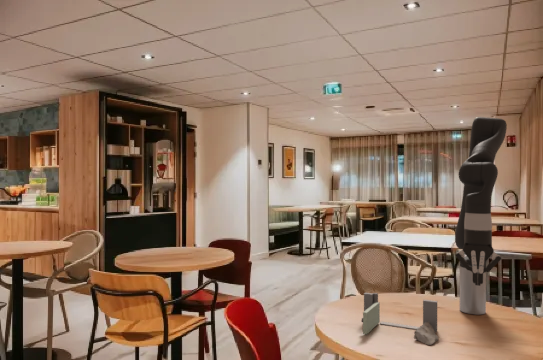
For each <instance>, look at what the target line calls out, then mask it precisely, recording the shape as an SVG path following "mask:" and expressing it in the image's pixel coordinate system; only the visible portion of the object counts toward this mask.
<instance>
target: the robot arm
mask: <svg viewBox="0 0 543 360" xmlns="http://www.w3.org/2000/svg"><path fill="white" fill-rule="evenodd" d="M507 129H508V128H507V122H506V120H505V119H503V118H497V117H484V116H477V117H475V118H474V119H473V121H472V124H471V131H470V139H469V150H468V151H469V152H468V158H466V160H464V162H462V164H461V165H460V167H459V169H458V178H459V179H458V180H459V182H460V183H462V184H463V191H462V199H461V207H460V210H459V211H460V212H459V217H458V220H457V222H456V223H457V224H456V227H455V232H454V233H455V235H454V242H455V245H456V247H457V249H459V250H460V251H457V252H456V253H455V257H456V258H457V259H458V261H459V311H460V312H463V313H465V314H469V315H479V316H480V315H485V314H486V313H487V312H486V311H487V306H486V305H487V275H486V274H487V273H489V272H490V271H492V270H493V268H495V266H496V265H497V264H498V263H500V261H501V259H502V257H501V255H500V254H498V253H496V252H495V250H494V247H493V243H492V242H493V237H492V236H493V221H492V219H493V218H492V214H491V213H492V195H493V192H494V189H495V184H496V183H497V179H498V176H499V175H498V174H499V171H498V170H499V169H498V167H497V165H496V164H495V159H496V156H497V153H498V151H499V149H500V148H501V146H502V144H503V143H504V141H505V138H506V133H507ZM465 255H466V256H465ZM490 257H491V261H490V262H489V263H488V264H487V262H488V260H489V259H490Z"/></svg>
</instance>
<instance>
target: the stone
mask: <svg viewBox="0 0 543 360" xmlns="http://www.w3.org/2000/svg"><path fill="white" fill-rule="evenodd" d="M419 327H420V328H418V329H417V330H415V331H414V332H413V333H414V335H413V338H414V340H417V341H418V342H421V343H423V344H425V345H429V346H430V345H431V346H432V345H433V344H435V342H439V336H438V335H437V334H436V332H434V329H433V328H432V326H431V325H430V322H425V323H424V324H423V323H422V325H420V326H419Z"/></svg>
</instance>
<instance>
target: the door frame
mask: <svg viewBox="0 0 543 360" xmlns="http://www.w3.org/2000/svg"><path fill="white" fill-rule="evenodd" d="M376 302H379V293H377V292H372V293H371V292H364V293H363V312H364V311H365V310H367V309H368V308H369V307H370V306H372V305H373V304H374V303H376ZM425 322H430V325H431V326H432V328H433V329H434V332H435V333H438V300H433V299H432V300H431V299H423V301H422V325H423V324H424V323H425ZM379 325H382V326H390V327H397V328H402V329H410V330H415V331H416V330H417V329H418V328H420V326H416V325H408V324H402V323H401V324H400V323H396V322H395V323H394V322H387V321H380V322H379Z"/></svg>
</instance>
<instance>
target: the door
mask: <svg viewBox="0 0 543 360" xmlns="http://www.w3.org/2000/svg"><path fill="white" fill-rule="evenodd" d="M380 313H381V311H380V302H379V301H378V302H376V303H374V304H373V305H372V306H370V307H369V308H368V309H367V310H365V311H364V310H363V312H362V318H361V323H362V334H364V335H367V334H369V333H370V332H371V331H372V330H373V329H374V328H376V326H377V325H379V324H380V323H381V321H380V319H381V318H380V317H381V315H380Z"/></svg>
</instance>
